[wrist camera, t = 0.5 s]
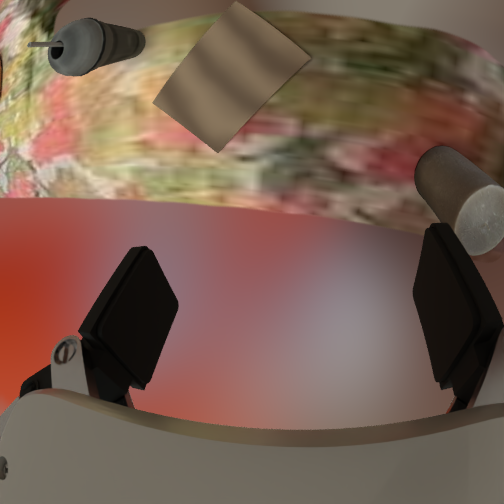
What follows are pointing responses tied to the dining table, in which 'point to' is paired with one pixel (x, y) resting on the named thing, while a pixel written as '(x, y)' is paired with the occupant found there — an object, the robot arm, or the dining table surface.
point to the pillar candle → (462, 198)
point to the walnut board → (229, 76)
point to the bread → (0, 74)
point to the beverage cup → (90, 46)
